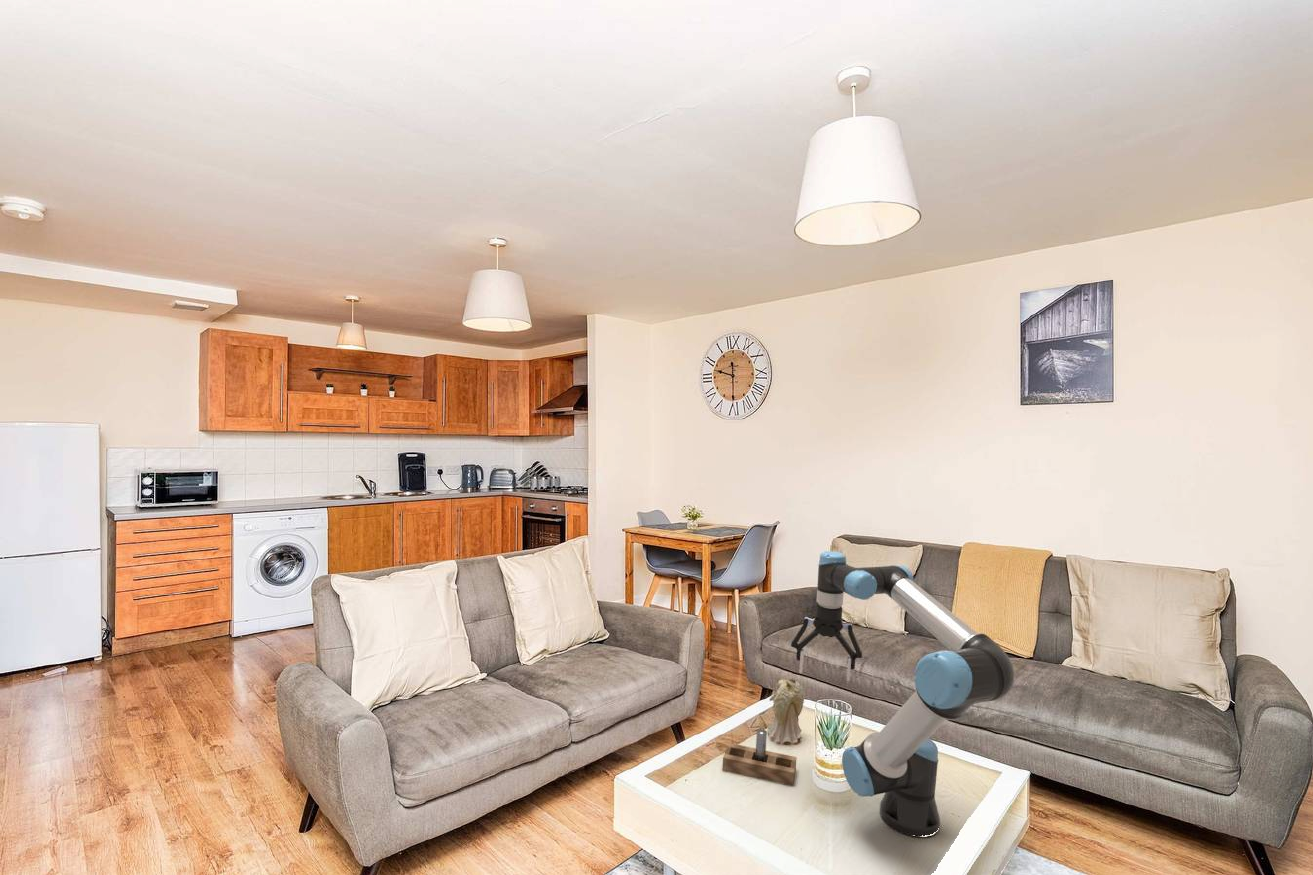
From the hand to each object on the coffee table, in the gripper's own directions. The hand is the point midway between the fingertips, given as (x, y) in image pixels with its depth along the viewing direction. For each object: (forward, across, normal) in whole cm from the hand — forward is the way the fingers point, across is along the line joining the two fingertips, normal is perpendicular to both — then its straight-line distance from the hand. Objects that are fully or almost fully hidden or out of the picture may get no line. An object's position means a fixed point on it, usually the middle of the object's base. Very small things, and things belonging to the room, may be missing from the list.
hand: (824, 675), depth 191 cm
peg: (+32, +17, +2) cm, 36 cm away
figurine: (+32, +12, -21) cm, 40 cm away
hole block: (+32, +17, +2) cm, 36 cm away
